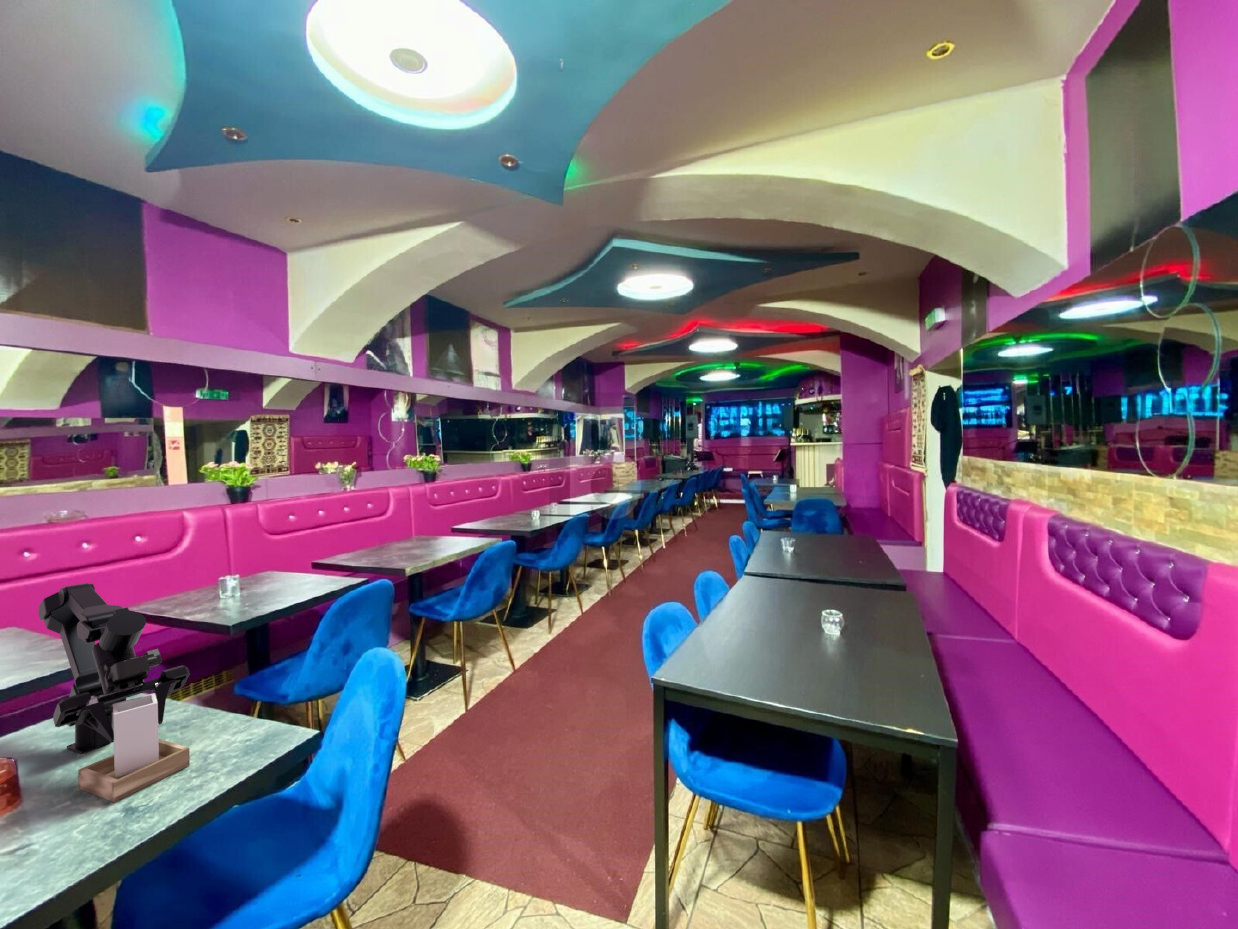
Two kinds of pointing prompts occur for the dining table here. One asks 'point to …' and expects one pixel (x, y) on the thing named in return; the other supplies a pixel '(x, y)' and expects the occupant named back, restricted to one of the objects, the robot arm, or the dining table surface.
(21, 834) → the dining table surface
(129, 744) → the white square vase
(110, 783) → the tray
